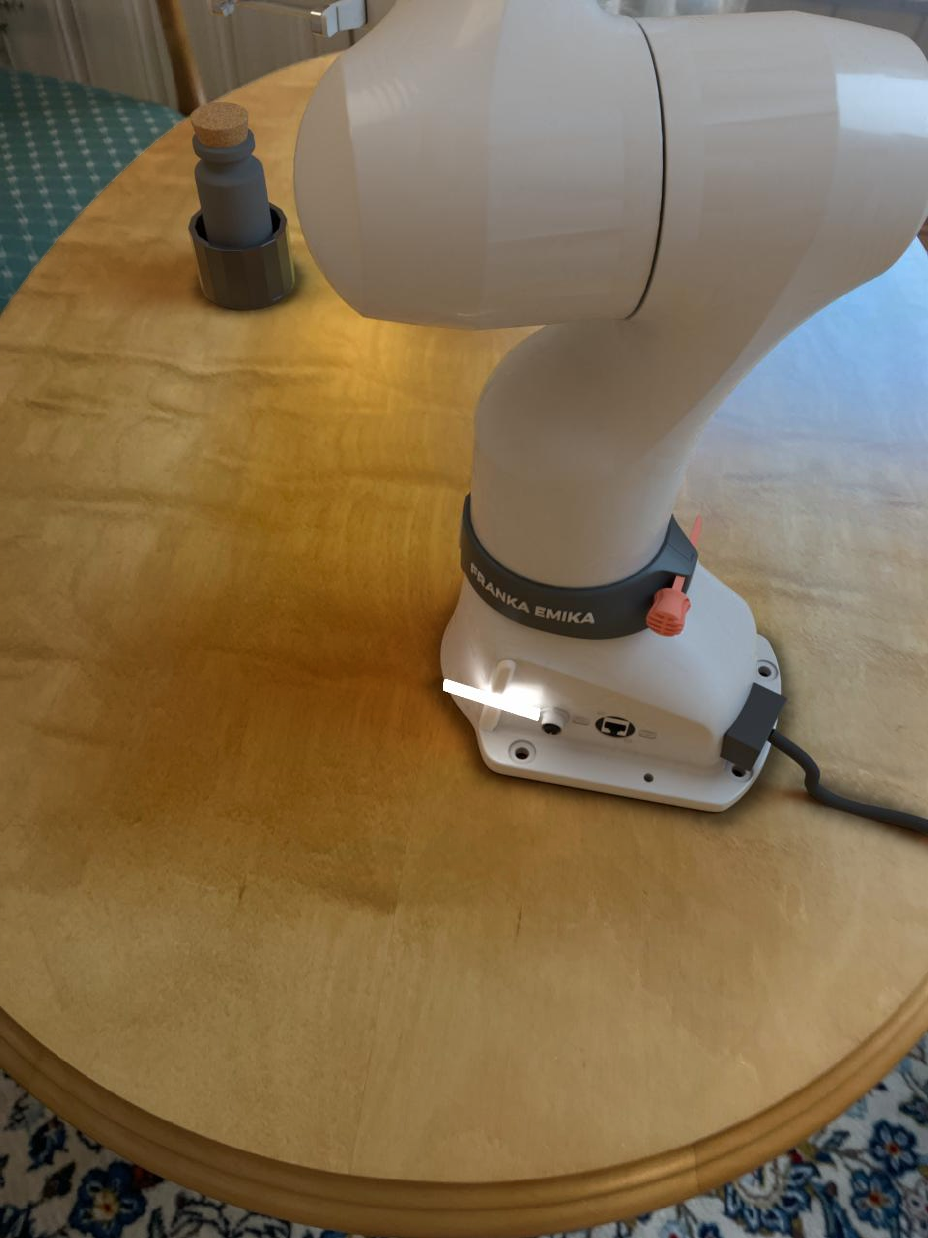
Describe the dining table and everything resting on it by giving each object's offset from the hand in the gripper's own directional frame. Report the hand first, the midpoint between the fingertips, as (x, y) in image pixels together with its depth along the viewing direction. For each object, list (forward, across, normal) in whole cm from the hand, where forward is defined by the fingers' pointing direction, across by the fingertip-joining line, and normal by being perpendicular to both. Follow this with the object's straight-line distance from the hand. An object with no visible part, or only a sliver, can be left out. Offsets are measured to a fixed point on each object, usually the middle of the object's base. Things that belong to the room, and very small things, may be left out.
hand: (265, 15), depth 77 cm
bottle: (+6, -2, +21) cm, 22 cm away
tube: (+6, -2, +21) cm, 22 cm away
